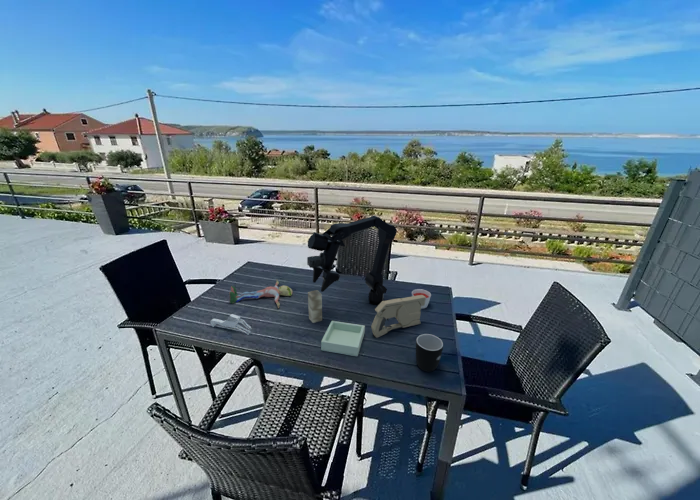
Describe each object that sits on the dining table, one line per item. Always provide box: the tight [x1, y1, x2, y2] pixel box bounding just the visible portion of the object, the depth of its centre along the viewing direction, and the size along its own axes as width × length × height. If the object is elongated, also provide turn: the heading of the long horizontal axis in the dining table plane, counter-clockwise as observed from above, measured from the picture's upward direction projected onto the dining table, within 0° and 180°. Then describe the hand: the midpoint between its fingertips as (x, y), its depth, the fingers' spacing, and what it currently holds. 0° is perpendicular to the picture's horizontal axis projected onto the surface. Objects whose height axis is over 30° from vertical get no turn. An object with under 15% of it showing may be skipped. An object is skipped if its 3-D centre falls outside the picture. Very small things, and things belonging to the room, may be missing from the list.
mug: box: [415, 333, 444, 372], centre depth 105 cm, size 12×9×10 cm
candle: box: [411, 288, 432, 309], centre depth 143 cm, size 9×9×6 cm
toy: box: [229, 278, 294, 309], centre depth 148 cm, size 28×7×30 cm
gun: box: [370, 295, 426, 339], centre depth 123 cm, size 24×3×15 cm, turn 118°
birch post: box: [307, 289, 323, 324], centre depth 129 cm, size 4×4×13 cm
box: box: [320, 320, 366, 357], centre depth 116 cm, size 14×14×4 cm
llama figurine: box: [209, 313, 253, 336], centre depth 122 cm, size 2×11×18 cm
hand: (317, 286), depth 127 cm, fingers open, 9 cm apart
